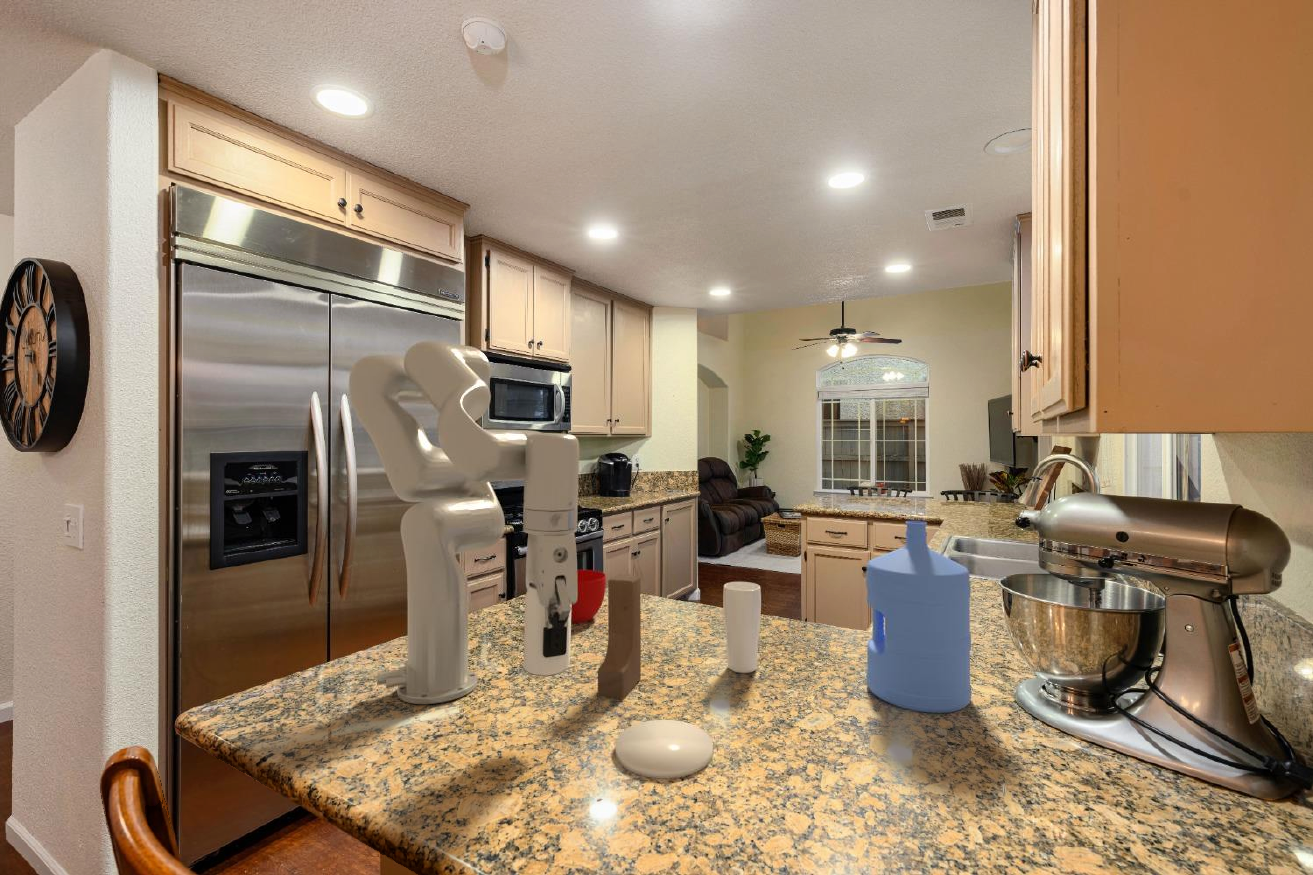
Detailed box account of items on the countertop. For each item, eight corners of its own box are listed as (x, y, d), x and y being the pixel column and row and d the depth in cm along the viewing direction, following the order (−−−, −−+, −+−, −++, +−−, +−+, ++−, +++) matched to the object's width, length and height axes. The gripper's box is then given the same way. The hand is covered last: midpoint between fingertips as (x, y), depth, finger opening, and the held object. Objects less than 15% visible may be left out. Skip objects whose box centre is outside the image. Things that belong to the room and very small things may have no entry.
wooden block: (622, 700, 93) (622, 587, 93) (596, 697, 94) (596, 585, 95) (641, 678, 102) (641, 575, 102) (617, 675, 103) (617, 573, 103)
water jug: (983, 691, 96) (982, 521, 96) (953, 726, 85) (952, 532, 85) (888, 667, 107) (887, 513, 107) (850, 694, 95) (849, 522, 95)
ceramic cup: (535, 631, 127) (535, 585, 127) (560, 609, 144) (560, 568, 144) (593, 634, 125) (592, 587, 125) (612, 611, 142) (611, 570, 142)
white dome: (642, 789, 69) (642, 781, 69) (600, 740, 81) (600, 732, 81) (732, 761, 75) (732, 753, 75) (681, 719, 87) (681, 712, 87)
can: (530, 680, 78) (532, 592, 78) (518, 662, 84) (520, 580, 84) (576, 672, 81) (578, 587, 81) (561, 656, 87) (563, 576, 87)
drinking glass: (719, 672, 104) (718, 588, 104) (729, 659, 111) (728, 580, 111) (756, 678, 102) (756, 592, 102) (764, 664, 108) (764, 583, 108)
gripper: (598, 529, 77) (594, 665, 77) (556, 510, 92) (553, 624, 92) (542, 532, 73) (538, 674, 73) (508, 512, 88) (505, 630, 89)
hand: (546, 645), depth 83 cm, fingers closed on can, 6 cm apart
